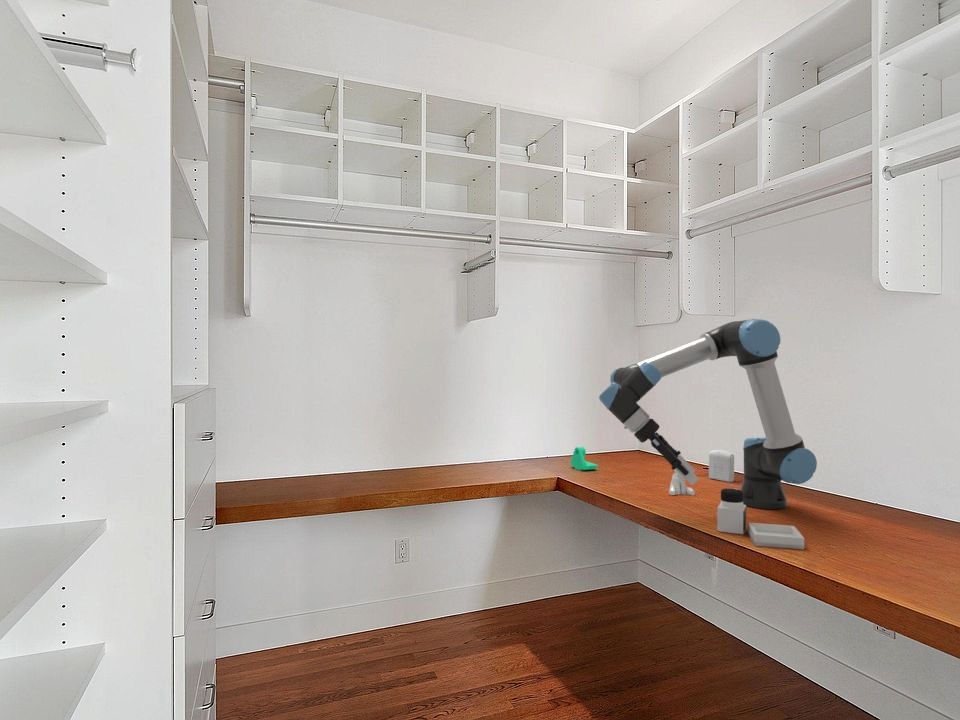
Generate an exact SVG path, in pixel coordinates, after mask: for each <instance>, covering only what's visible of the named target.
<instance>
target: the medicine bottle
mask: <svg viewBox="0 0 960 720" xmlns="http://www.w3.org/2000/svg"><path fill="white" fill-rule="evenodd" d="M716 509H717V515H716V517H717V518H716V519H717V520H716V521H717V522H716V523H717V532H721V533H727V534H728V533H729V534H736V535H737V534H738V535H745V532H746V530H747V506H746V505H743V492H742V491H741V489H738V488H732V487H727V488H723V489H721V490H720V503H719V504H718V506H717V508H716Z"/></svg>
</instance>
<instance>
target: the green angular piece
mask: <svg viewBox="0 0 960 720" xmlns="http://www.w3.org/2000/svg"><path fill="white" fill-rule="evenodd" d="M586 453H587V452H586V448H585V447H584V446H578V447H577V446H576V447H575V448H574V451H573V454H572V457H571V459H570V466H572V467H574V468H575V469H574V470H577V469H578V471H590V470H598V466H599V464H595V463H593V462H589V461H586V460H585V456H586Z"/></svg>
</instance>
